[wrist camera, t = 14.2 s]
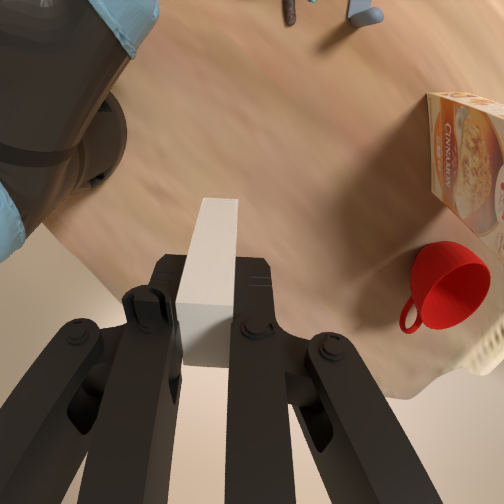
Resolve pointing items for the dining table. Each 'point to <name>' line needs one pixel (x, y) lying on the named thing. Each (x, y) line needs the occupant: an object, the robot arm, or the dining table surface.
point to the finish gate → (363, 13)
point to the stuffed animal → (291, 10)
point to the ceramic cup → (445, 286)
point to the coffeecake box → (469, 162)
